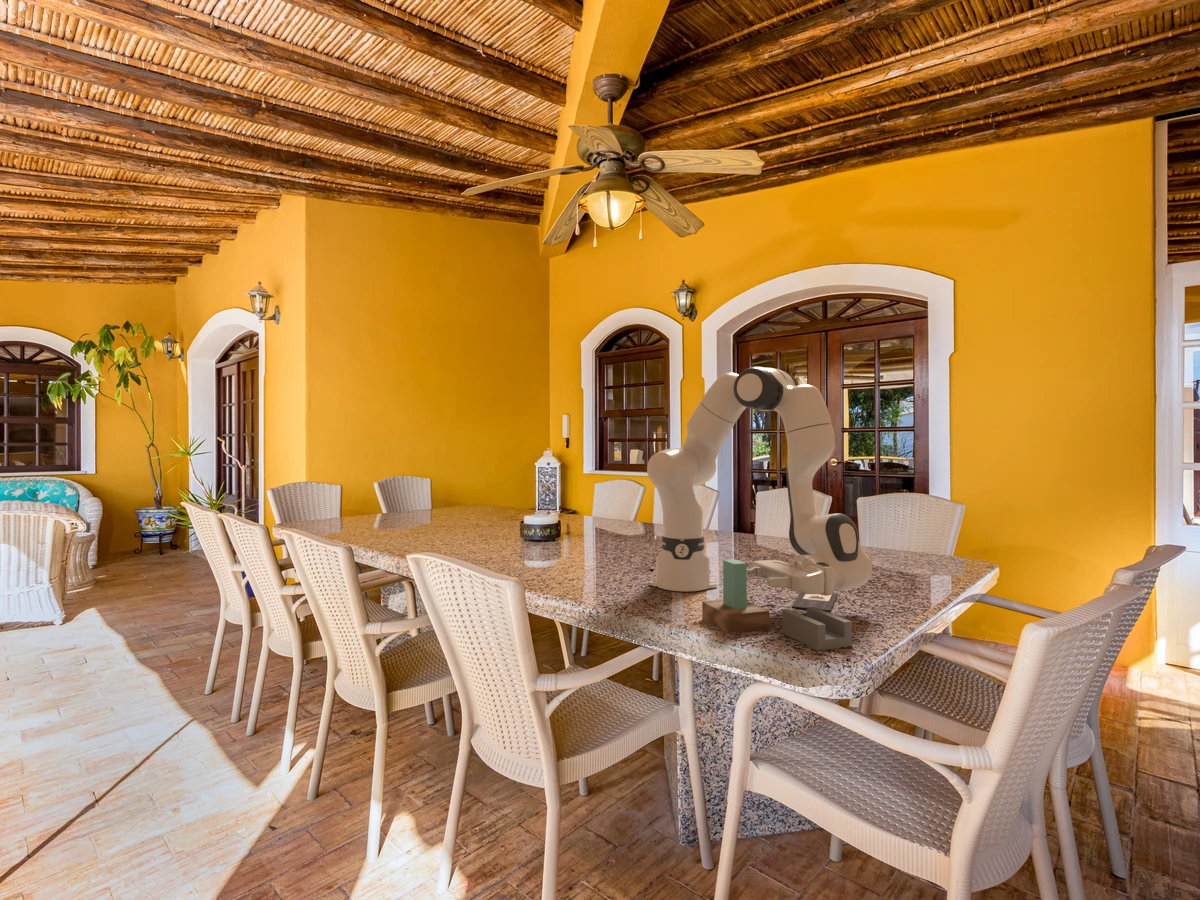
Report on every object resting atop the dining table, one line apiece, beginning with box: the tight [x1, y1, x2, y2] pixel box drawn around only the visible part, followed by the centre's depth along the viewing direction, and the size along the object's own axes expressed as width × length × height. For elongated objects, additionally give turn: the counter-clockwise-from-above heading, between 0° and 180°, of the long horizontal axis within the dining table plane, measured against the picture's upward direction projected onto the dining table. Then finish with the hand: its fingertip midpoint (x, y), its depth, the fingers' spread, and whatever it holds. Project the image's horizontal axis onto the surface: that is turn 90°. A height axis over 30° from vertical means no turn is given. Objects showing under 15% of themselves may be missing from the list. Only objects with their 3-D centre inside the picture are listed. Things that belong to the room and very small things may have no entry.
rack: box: [781, 607, 853, 652], centre depth 131 cm, size 12×8×5 cm, turn 18°
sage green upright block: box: [722, 559, 748, 609], centre depth 142 cm, size 5×3×10 cm, turn 18°
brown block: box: [701, 599, 770, 635], centre depth 142 cm, size 12×10×4 cm
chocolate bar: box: [791, 592, 839, 613], centre depth 161 cm, size 9×1×18 cm
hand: (756, 577), depth 144 cm, fingers open, 8 cm apart
